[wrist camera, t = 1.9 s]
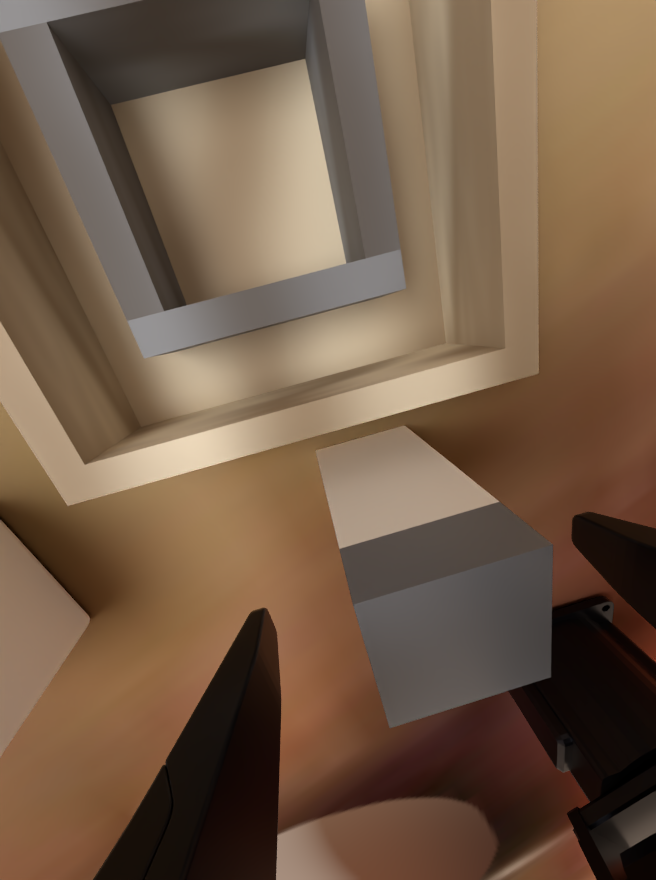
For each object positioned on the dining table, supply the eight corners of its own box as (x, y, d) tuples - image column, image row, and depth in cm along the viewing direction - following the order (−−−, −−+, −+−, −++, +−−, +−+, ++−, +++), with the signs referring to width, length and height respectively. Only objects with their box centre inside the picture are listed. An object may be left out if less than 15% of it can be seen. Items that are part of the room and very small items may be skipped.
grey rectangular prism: (404, 425, 13) (552, 544, 6) (417, 502, 15) (550, 676, 7) (315, 450, 13) (353, 604, 6) (337, 525, 15) (389, 727, 7)
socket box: (419, -188, 8) (534, -632, 4) (467, 361, 13) (539, 373, 9) (-140, -69, 7) (-550, -452, 4) (132, 453, 12) (67, 505, 9)
